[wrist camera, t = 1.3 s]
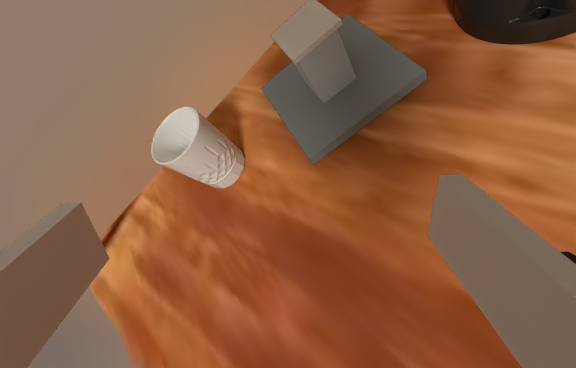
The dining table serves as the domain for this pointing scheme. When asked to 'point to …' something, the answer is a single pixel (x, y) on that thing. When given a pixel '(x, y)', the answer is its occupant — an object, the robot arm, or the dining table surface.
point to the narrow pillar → (335, 78)
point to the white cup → (197, 149)
